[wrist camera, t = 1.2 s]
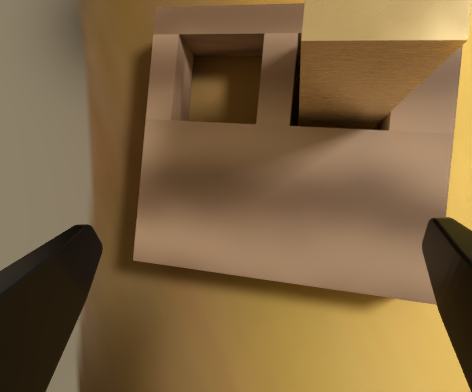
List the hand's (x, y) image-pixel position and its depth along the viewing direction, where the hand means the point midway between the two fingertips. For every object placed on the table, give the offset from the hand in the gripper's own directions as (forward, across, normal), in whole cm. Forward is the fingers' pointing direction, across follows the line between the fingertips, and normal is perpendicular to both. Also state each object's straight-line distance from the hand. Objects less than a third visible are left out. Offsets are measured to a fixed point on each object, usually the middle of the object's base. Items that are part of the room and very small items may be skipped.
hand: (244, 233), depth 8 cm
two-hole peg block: (+13, -1, +5) cm, 14 cm away
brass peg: (+15, -4, +2) cm, 16 cm away
